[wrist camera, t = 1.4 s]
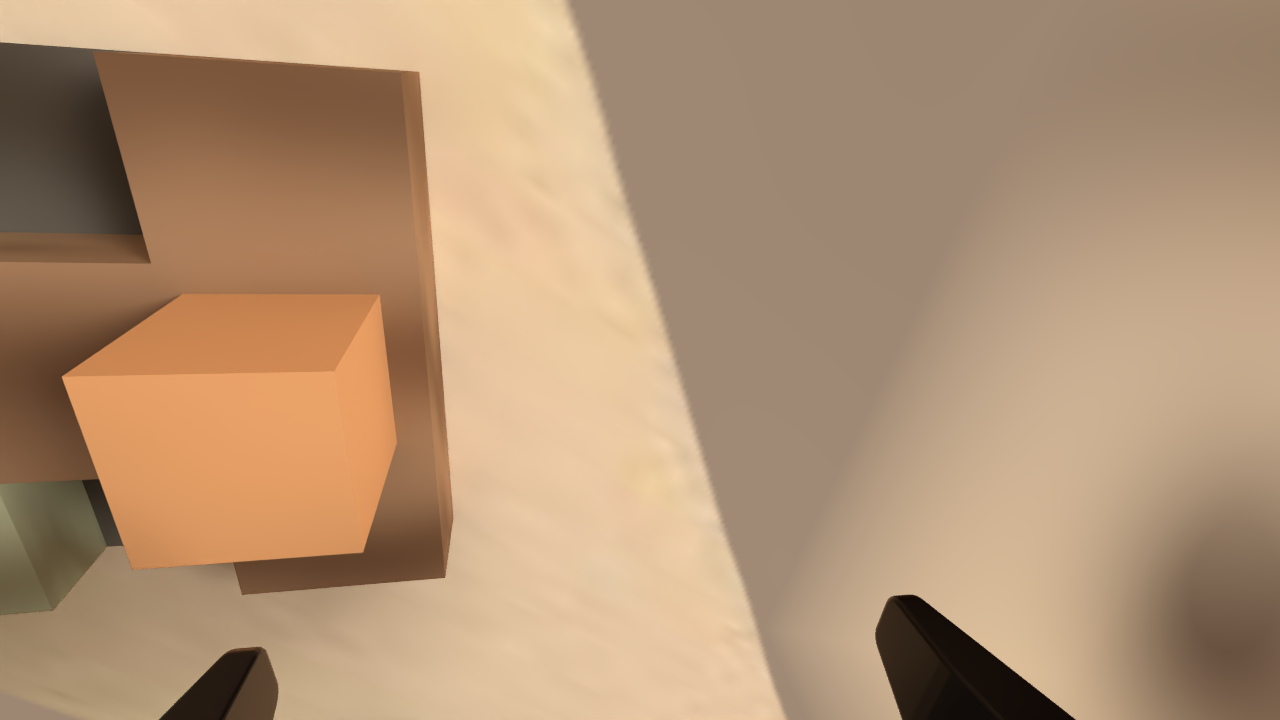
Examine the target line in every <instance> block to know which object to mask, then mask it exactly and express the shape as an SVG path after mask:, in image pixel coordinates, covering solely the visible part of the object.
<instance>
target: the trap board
mask: <svg viewBox="0 0 1280 720" xmlns="http://www.w3.org/2000/svg"><path fill="white" fill-rule="evenodd" d="M182 294H363V295H380V303H381V311H382V320H383V328H384V337H385V345H386V354H387V362H388V371H389V380H390V388H391V397H392V405H393V414H394V422H395V431H396V439H397V444H396V447H395V451H394V454H393V457H392V460H391V464H390V467H389V470H388V473H387V477H386V480H385V483H384V486H383V489H382V493H381V496H380V499H379V502H378V506H377V509H376V512H375V515H374V519H373V522H372V525H371V528H370V531H369V535H368V538H367V541H366V544H365V548H364V551H363V553H350V554H336V555H323V556H309V557H296V558H282V559H269V560H255V561H242V562H233V563H234V567H235V570H236V574H237V578H238V581H239V585H240V589H241V592H242V595H245V594H257V593H269V592H281V591H293V590H305V589H317V588H329V587H340V586H352V585H364V584H376V583H388V582H400V581H412V580H424V579H436V578H445V575H446V568H447V560H448V553H449V545H450V538H451V530H452V523H453V510H452V497H451V484H450V471H449V457H448V444H447V431H446V418H445V405H444V392H443V379H442V366H441V353H440V340H439V327H438V313H437V300H436V287H435V274H434V261H433V248H432V235H431V222H430V209H429V196H428V182H427V169H426V156H425V143H424V130H423V117H422V104H421V91H420V78H419V72H412V71H398V70H383V69H369V68H355V67H341V66H327V65H313V64H298V63H284V62H270V61H256V60H242V59H227V58H213V57H199V56H185V55H171V54H157V53H142V52H128V51H114V50H100V49H86V48H71V47H57V46H43V45H29V44H15V43H1V42H0V615H6V614H18V613H30V612H42V611H53V610H54V609H55V607H56V606H57V605H58V604H59V603H60V601H61V600H62V599H63V598H64V597H65V596H66V594H67V593H68V592H69V591H70V590H71V588H72V587H73V586H74V585H75V584H76V583H77V581H78V580H79V579H80V578H81V577H82V576H83V574H84V573H85V572H86V571H87V570H88V568H89V567H90V566H91V565H92V564H93V563H94V561H95V560H96V559H97V558H98V557H99V555H100V554H101V553H102V552H103V551H104V550H105V548H106V547H107V546H122V545H123V542H122V540H121V537H120V534H119V532H118V529H117V526H116V523H115V521H114V518H113V515H112V513H111V510H110V507H109V504H108V502H107V499H106V496H105V493H104V491H103V488H102V485H101V483H100V480H99V477H98V474H97V472H96V469H95V466H94V464H93V461H92V458H91V455H90V453H89V450H88V447H87V444H86V442H85V439H84V436H83V434H82V431H81V428H80V425H79V423H78V420H77V417H76V415H75V412H74V409H73V406H72V404H71V401H70V398H69V395H68V393H67V390H66V387H65V385H64V382H63V379H62V376H63V375H65V374H66V373H68V372H69V371H71V370H72V369H74V368H75V367H77V366H78V365H80V364H81V363H82V362H84V361H85V360H87V359H88V358H90V357H91V356H93V355H94V354H96V353H97V352H99V351H100V350H101V349H103V348H104V347H106V346H107V345H109V344H110V343H112V342H113V341H115V340H116V339H118V338H119V337H121V336H122V335H123V334H125V333H126V332H128V331H129V330H131V329H132V328H134V327H135V326H137V325H138V324H140V323H141V322H142V321H144V320H145V319H147V318H148V317H150V316H151V315H153V314H154V313H156V312H157V311H159V310H160V309H161V308H163V307H164V306H166V305H167V304H169V303H170V302H172V301H173V300H175V299H176V298H178V297H179V296H181V295H182Z"/></svg>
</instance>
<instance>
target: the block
mask: <svg viewBox="0 0 1280 720" xmlns="http://www.w3.org/2000/svg"><path fill="white" fill-rule="evenodd" d="M62 379H63V382H64V385H65V387H66V390H67V393H68V395H69V398H70V401H71V404H72V406H73V409H74V412H75V415H76V417H77V420H78V423H79V425H80V428H81V431H82V434H83V436H84V439H85V442H86V444H87V447H88V450H89V453H90V455H91V458H92V461H93V464H94V466H95V469H96V472H97V474H98V477H99V480H100V483H101V485H102V488H103V491H104V493H105V496H106V499H107V502H108V504H109V507H110V510H111V513H112V515H113V518H114V521H115V523H116V526H117V529H118V532H119V534H120V537H121V540H122V542H123V545H124V548H125V551H126V553H127V556H128V559H129V562H130V564H131V567H132V570H134V569H147V568H161V567H174V566H188V565H201V564H215V563H228V562H242V561H255V560H269V559H282V558H296V557H309V556H323V555H336V554H350V553H363V551H364V548H365V544H366V541H367V538H368V535H369V531H370V528H371V525H372V522H373V519H374V515H375V512H376V509H377V506H378V502H379V499H380V496H381V493H382V489H383V486H384V483H385V480H386V477H387V473H388V470H389V467H390V464H391V460H392V457H393V454H394V451H395V447H396V444H397V439H396V431H395V422H394V414H393V405H392V397H391V388H390V380H389V371H388V362H387V354H386V345H385V337H384V328H383V320H382V311H381V303H380V295H363V294H182V295H181V296H179V297H178V298H176V299H175V300H173V301H172V302H170V303H169V304H167V305H166V306H164V307H163V308H161V309H160V310H159V311H157V312H156V313H154V314H153V315H151V316H150V317H148V318H147V319H145V320H144V321H142V322H141V323H140V324H138V325H137V326H135V327H134V328H132V329H131V330H129V331H128V332H126V333H125V334H123V335H122V336H121V337H119V338H118V339H116V340H115V341H113V342H112V343H110V344H109V345H107V346H106V347H104V348H103V349H101V350H100V351H99V352H97V353H96V354H94V355H93V356H91V357H90V358H88V359H87V360H85V361H84V362H82V363H81V364H80V365H78V366H77V367H75V368H74V369H72V370H71V371H69V372H68V373H66V374H65V375H63V376H62Z"/></svg>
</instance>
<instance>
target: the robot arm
mask: <svg viewBox="0 0 1280 720" xmlns="http://www.w3.org/2000/svg"><path fill="white" fill-rule="evenodd" d="M875 636H876V637H875V638H876V644H877V647H878V650H879V653H880V656H881V659H882V662H883V665H884V668H885V671H886V674H887V677H888V680H889V683H890V686H891V688H892V691H893V694H894V697H895V700H896V703H897V706H898V709H899V712H900V715H901V718H902V720H1075V719H1074V718H1073V717H1071V716H1070V715H1069V714H1068V713H1067V712H1065V711H1064V710H1063V709H1062V708H1060V707H1059V706H1058V705H1056V704H1055V703H1054V702H1052V701H1051V700H1050V699H1049V698H1047V697H1046V696H1045V695H1044V694H1042V693H1041V692H1040V691H1039V690H1037V689H1036V688H1035V687H1033V686H1032V685H1031V684H1030V683H1028V682H1027V681H1026V680H1024V679H1023V678H1022V677H1021V676H1019V675H1018V674H1017V673H1016V672H1014V671H1013V670H1012V669H1010V668H1009V667H1008V666H1007V665H1005V664H1004V663H1003V662H1002V661H1000V660H999V659H998V658H997V657H995V656H994V655H993V654H991V653H990V652H989V651H988V650H986V649H985V648H984V647H983V646H981V645H980V644H979V643H977V642H976V641H975V640H974V639H972V638H971V637H970V636H969V635H967V634H966V633H965V632H963V631H962V630H961V629H960V628H958V627H957V626H956V625H954V624H953V623H952V622H951V621H949V620H948V619H947V618H946V617H944V616H943V615H942V614H941V613H939V612H938V611H937V610H935V609H934V608H933V607H932V606H930V605H929V604H928V603H926V602H925V601H924V600H923V599H921V598H920V597H918V596H915V595H899V596H892V597H890V598H889V599H888V600H887V602H886V605H885V607H884V610H883V612H882V615H881V618H880V620H879V622H878V625H877V627H876V633H875ZM277 700H278V683H277V679H276V677H275V674H274V671H273V668H272V665H271V663H270V660H269V657H268V654H267V652H266V650H265V649H263V648H262V647H252V648H239V649H233V650H230V651H228V652H227V653H225V654H224V655H223V656H222V657H220V658H219V659H218V660H217V661H216V662H215V664H214V665H213V666H212V667H211V668H210V669H209V670H208V671H207V672H206V673H205V674H204V675H203V676H202V677H201V678H200V679H199V680H198V681H197V682H196V683H195V684H194V685H193V686H192V687H191V688H190V689H189V690H188V691H187V692H186V693H185V694H184V695H183V696H182V697H181V698H180V699H179V700H178V701H177V702H176V703H175V704H174V705H173V706H172V707H171V708H170V709H169V710H168V711H167V712H166V713H165V714H164V715H163V716H162V717H161V718H160V719H159V720H273V718H274V714H275V709H276V705H277Z"/></svg>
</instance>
